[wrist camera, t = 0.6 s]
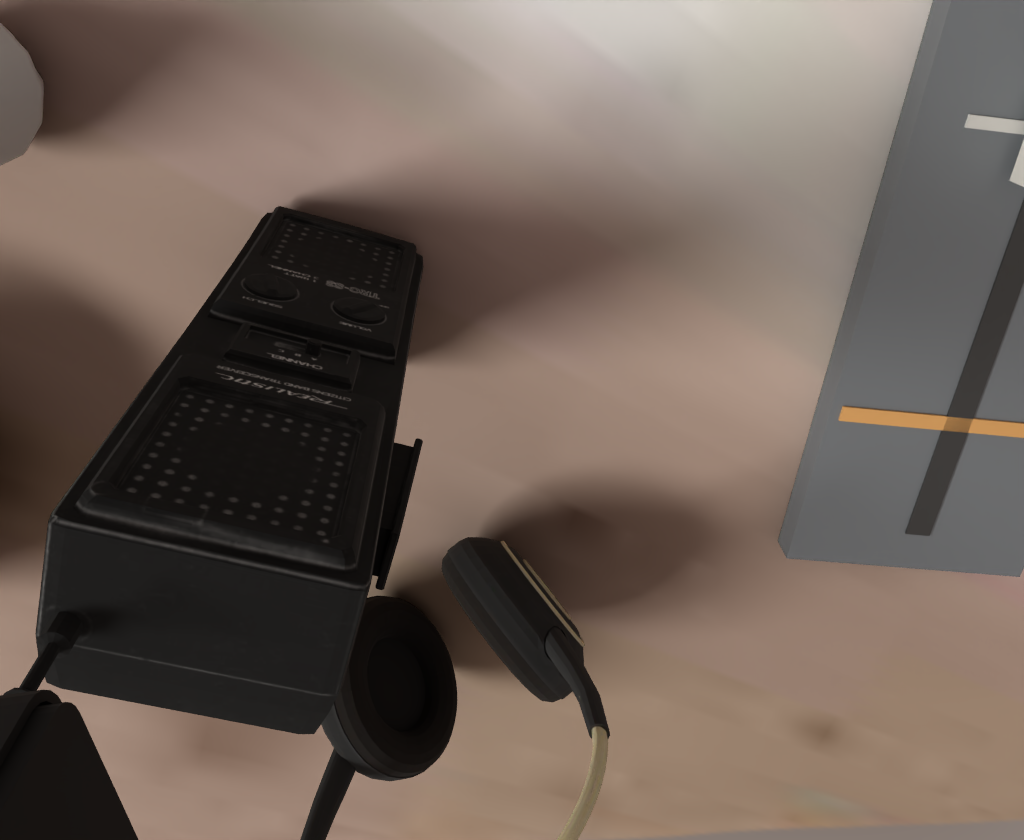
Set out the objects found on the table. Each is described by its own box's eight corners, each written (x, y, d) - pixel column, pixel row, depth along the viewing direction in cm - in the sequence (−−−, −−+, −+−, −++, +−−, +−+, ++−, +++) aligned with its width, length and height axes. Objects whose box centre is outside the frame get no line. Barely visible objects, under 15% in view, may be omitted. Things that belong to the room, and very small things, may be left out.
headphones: (284, 609, 49) (174, 995, 31) (526, 465, 46) (559, 804, 28) (385, 712, 52) (339, 1114, 34) (617, 585, 49) (700, 957, 31)
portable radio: (451, 247, 41) (423, 622, 18) (416, 373, 43) (354, 836, 21) (267, 196, 39) (-6, 530, 17) (242, 328, 42) (-24, 769, 20)
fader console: (941, -27, 36) (960, -26, 35) (1232, 12, 37) (1263, 15, 36) (778, 541, 48) (787, 559, 46) (1004, 559, 49) (1020, 578, 47)
